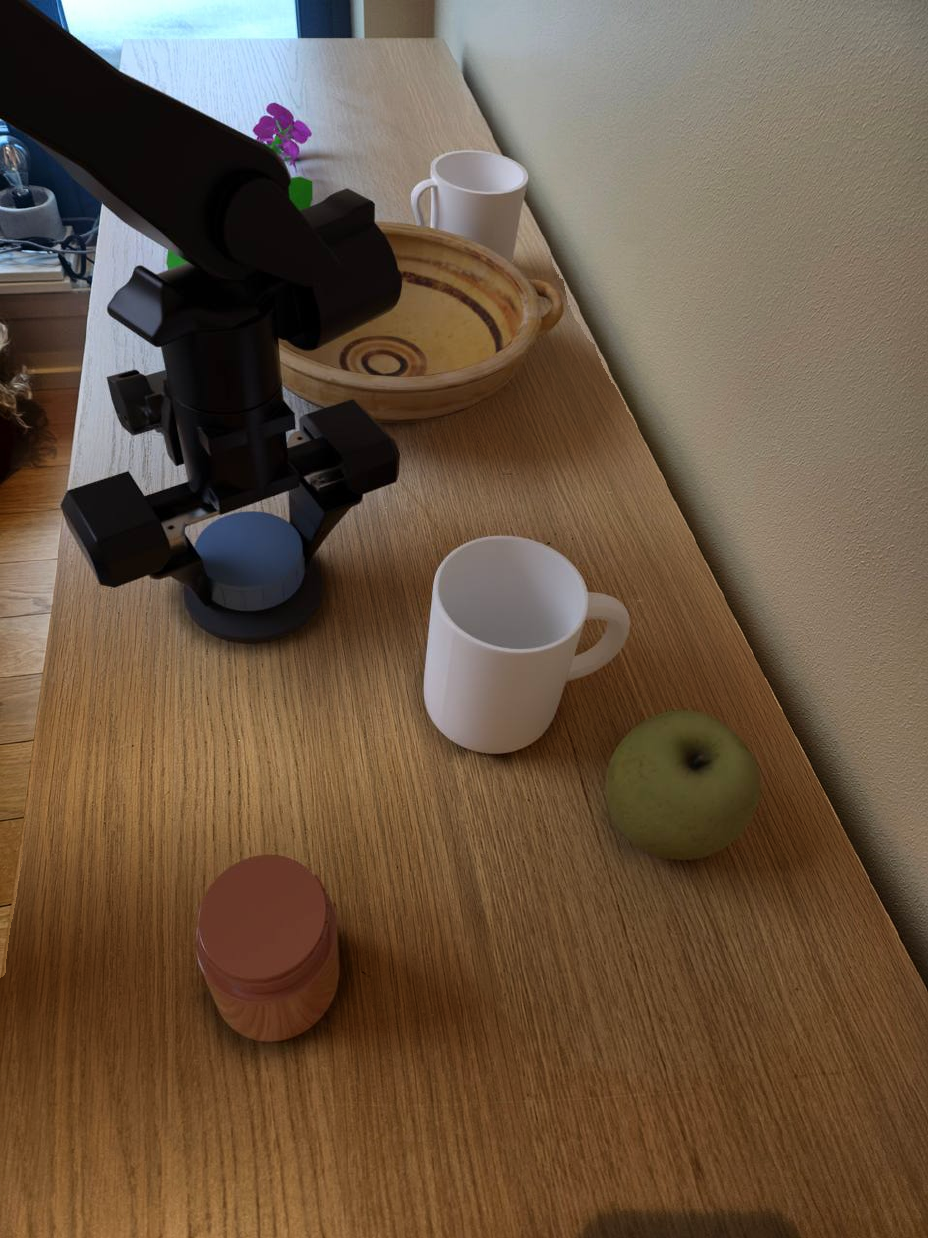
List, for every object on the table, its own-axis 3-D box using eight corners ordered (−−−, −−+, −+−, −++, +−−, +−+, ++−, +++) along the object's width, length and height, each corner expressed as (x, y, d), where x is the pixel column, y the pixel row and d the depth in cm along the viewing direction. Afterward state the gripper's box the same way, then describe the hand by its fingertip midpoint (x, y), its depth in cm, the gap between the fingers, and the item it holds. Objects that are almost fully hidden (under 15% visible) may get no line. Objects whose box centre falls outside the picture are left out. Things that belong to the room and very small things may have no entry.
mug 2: (588, 634, 57) (625, 523, 49) (629, 740, 52) (678, 634, 44) (411, 655, 55) (420, 541, 47) (436, 768, 50) (451, 662, 42)
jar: (247, 1070, 39) (226, 1021, 33) (192, 956, 42) (164, 892, 36) (362, 994, 42) (362, 935, 35) (303, 892, 44) (294, 821, 38)
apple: (755, 858, 48) (805, 797, 43) (629, 902, 46) (666, 844, 40) (687, 746, 52) (725, 677, 47) (569, 781, 50) (595, 714, 45)
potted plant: (194, 351, 80) (248, 206, 104) (348, 275, 75) (368, 142, 99) (100, 228, 72) (184, 102, 96) (267, 135, 67) (310, 27, 91)
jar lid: (275, 523, 59) (272, 498, 57) (323, 586, 56) (322, 562, 54) (181, 558, 56) (176, 533, 54) (226, 627, 53) (222, 602, 51)
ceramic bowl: (503, 292, 84) (514, 210, 78) (600, 449, 70) (623, 364, 64) (192, 317, 77) (177, 228, 70) (229, 499, 62) (215, 408, 56)
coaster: (220, 664, 53) (218, 658, 53) (162, 571, 57) (160, 565, 57) (348, 608, 57) (348, 602, 56) (284, 525, 61) (284, 519, 61)
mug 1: (490, 251, 89) (503, 146, 81) (527, 296, 84) (545, 188, 76) (391, 264, 86) (394, 155, 78) (424, 311, 81) (431, 200, 73)
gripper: (312, 268, 52) (320, 466, 64) (-11, 346, 45) (68, 555, 56) (410, 363, 47) (399, 560, 59) (62, 471, 39) (132, 673, 51)
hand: (253, 582), depth 56 cm, fingers closed on jar lid, 6 cm apart
